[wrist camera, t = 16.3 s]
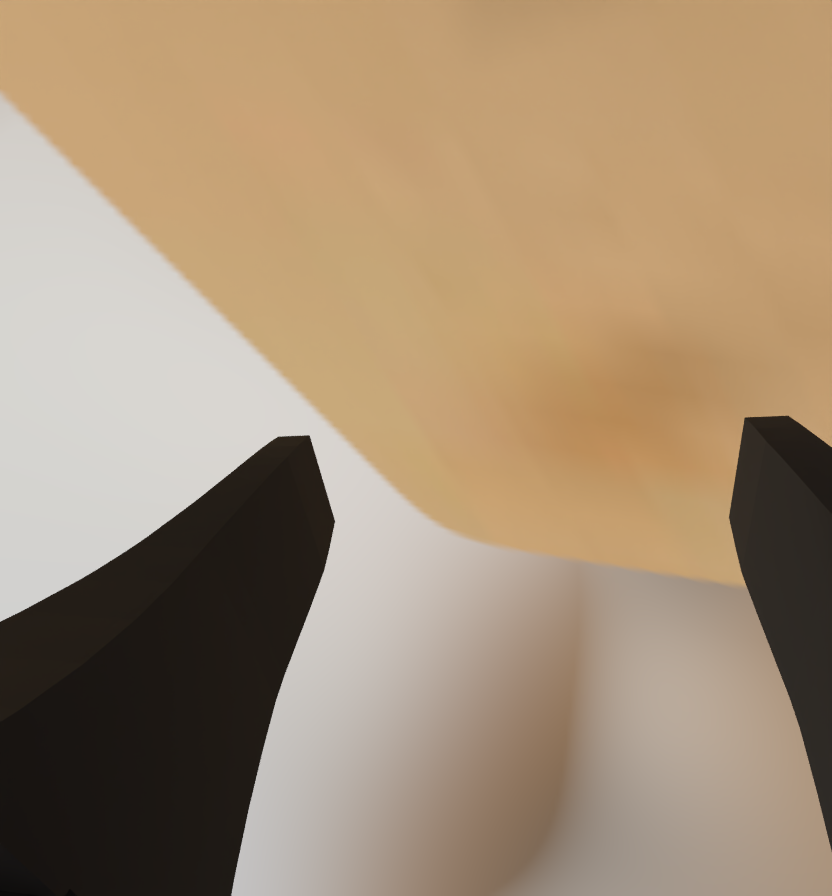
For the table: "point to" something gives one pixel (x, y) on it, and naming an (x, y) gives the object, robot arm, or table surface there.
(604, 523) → the table surface
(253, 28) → the table surface
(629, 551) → the table surface
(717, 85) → the table surface
